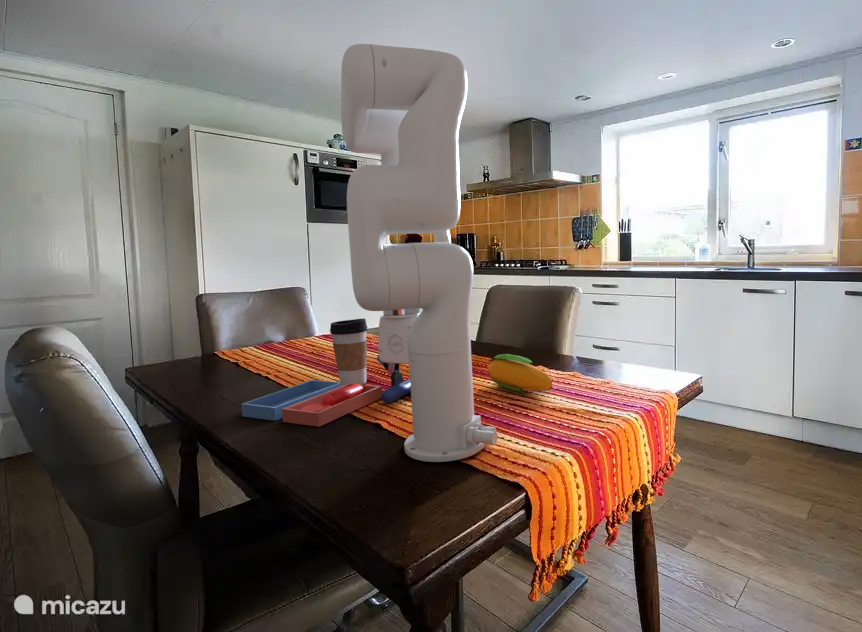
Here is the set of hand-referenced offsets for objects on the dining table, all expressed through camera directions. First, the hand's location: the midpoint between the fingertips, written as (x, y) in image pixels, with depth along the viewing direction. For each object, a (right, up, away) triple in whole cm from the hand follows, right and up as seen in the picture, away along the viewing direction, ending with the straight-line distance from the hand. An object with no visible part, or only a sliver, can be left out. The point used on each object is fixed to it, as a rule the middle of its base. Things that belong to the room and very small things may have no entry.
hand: (407, 392), depth 109 cm
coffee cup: (-15, 0, +11) cm, 18 cm away
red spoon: (-13, -2, -9) cm, 15 cm away
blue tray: (-22, -2, -4) cm, 23 cm away
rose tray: (-12, -2, -9) cm, 15 cm away
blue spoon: (0, 0, 0) cm, 0 cm away
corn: (+25, 0, -1) cm, 25 cm away
